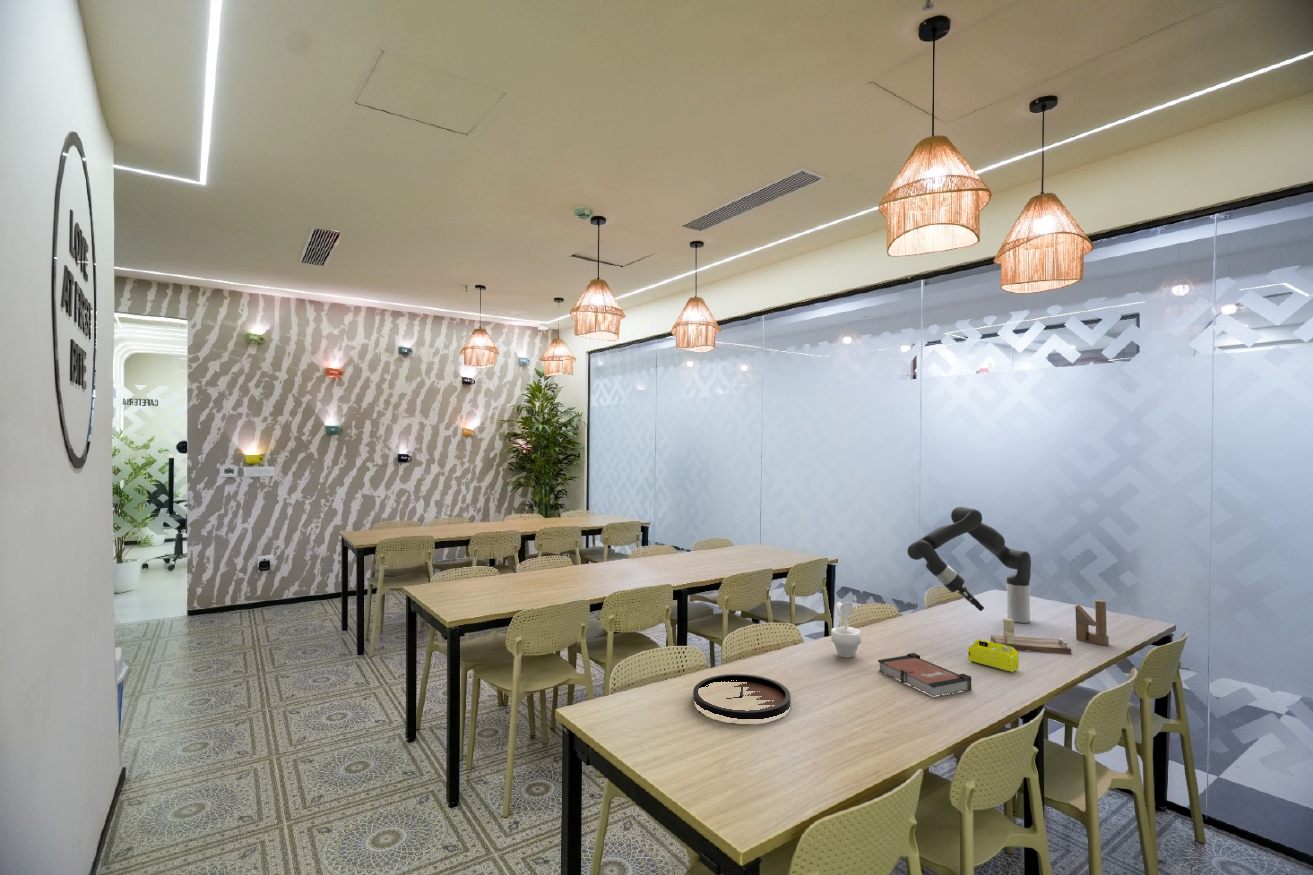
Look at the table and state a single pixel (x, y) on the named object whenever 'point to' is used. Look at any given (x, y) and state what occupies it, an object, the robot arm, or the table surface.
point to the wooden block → (1092, 624)
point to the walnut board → (1035, 644)
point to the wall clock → (755, 683)
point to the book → (925, 675)
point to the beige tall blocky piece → (1008, 630)
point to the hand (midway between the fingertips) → (980, 607)
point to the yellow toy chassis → (994, 655)
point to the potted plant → (846, 632)
